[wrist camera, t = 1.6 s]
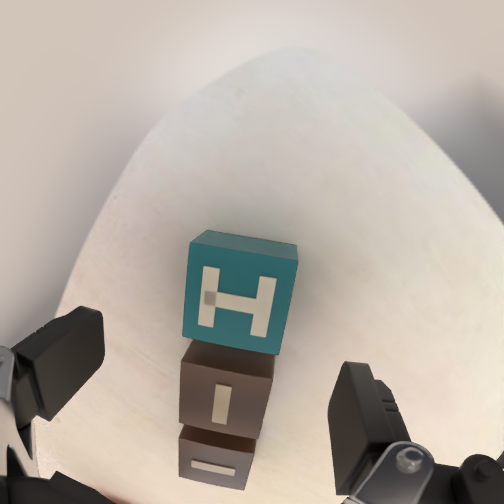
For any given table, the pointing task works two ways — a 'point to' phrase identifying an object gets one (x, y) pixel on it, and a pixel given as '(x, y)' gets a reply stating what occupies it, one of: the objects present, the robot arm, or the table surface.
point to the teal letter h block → (238, 291)
